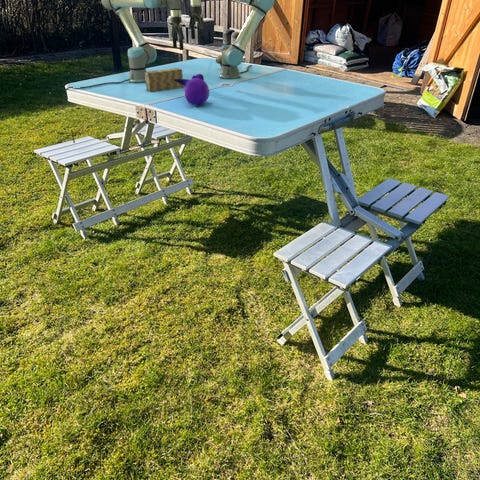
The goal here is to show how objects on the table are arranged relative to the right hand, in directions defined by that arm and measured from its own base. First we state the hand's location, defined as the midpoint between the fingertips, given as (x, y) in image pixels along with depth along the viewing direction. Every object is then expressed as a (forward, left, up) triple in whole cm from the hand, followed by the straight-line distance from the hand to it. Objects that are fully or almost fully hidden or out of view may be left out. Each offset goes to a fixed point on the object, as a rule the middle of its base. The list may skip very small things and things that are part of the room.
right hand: (197, 39), depth 316 cm
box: (+30, -1, -29) cm, 42 cm away
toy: (+41, +48, -29) cm, 69 cm away
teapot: (-50, -29, -29) cm, 65 cm away
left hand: (+4, -19, -7) cm, 21 cm away
